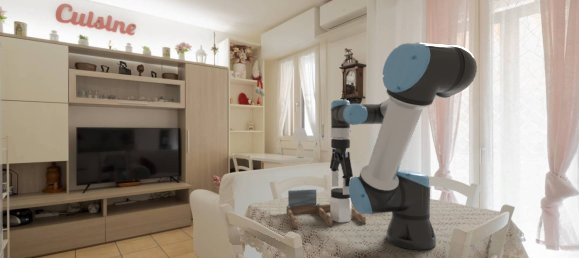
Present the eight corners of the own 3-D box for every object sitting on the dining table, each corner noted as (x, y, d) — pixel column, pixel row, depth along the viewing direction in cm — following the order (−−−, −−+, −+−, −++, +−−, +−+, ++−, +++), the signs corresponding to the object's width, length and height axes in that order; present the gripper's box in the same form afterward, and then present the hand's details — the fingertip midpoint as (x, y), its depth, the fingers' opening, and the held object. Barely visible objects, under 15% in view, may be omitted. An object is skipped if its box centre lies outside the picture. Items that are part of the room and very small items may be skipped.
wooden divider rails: (365, 224, 113) (365, 198, 113) (294, 229, 108) (294, 202, 108) (346, 209, 133) (346, 187, 132) (286, 213, 128) (286, 190, 128)
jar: (356, 219, 118) (356, 190, 118) (343, 224, 113) (342, 193, 113) (339, 214, 125) (339, 186, 125) (326, 218, 120) (326, 189, 120)
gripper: (361, 140, 107) (361, 197, 108) (338, 136, 132) (338, 183, 132) (342, 140, 106) (342, 198, 107) (322, 136, 130) (323, 183, 131)
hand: (340, 190), depth 119 cm, fingers open, 13 cm apart
